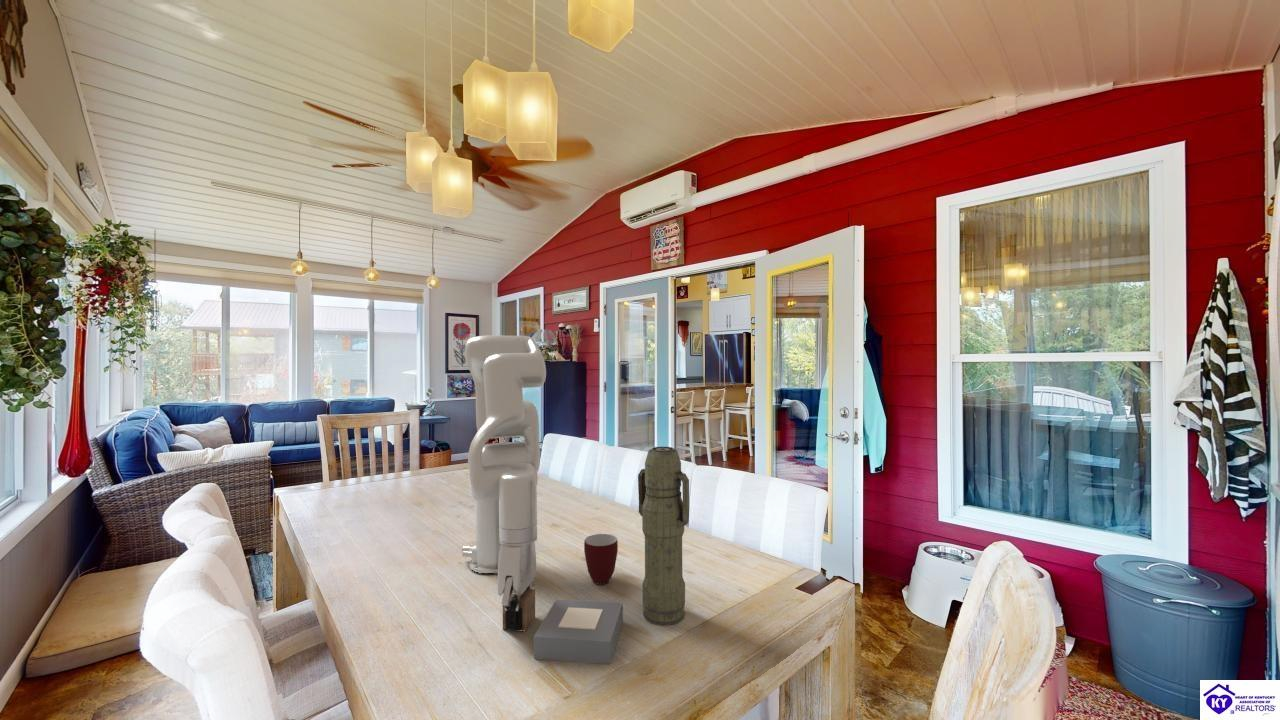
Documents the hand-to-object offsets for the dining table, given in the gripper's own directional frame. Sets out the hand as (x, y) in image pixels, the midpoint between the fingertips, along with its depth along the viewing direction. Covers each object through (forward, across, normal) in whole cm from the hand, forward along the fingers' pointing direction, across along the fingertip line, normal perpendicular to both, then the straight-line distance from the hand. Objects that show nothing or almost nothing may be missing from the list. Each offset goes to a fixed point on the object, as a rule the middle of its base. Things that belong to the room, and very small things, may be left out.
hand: (519, 620), depth 102 cm
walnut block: (+1, 0, 0) cm, 1 cm away
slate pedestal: (+1, +4, +14) cm, 15 cm away
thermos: (+1, -7, +29) cm, 30 cm away
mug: (+1, -22, +13) cm, 26 cm away
